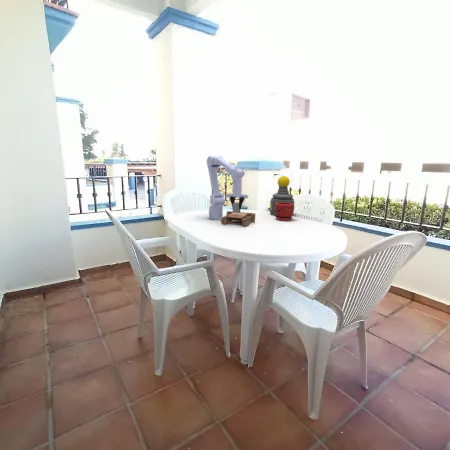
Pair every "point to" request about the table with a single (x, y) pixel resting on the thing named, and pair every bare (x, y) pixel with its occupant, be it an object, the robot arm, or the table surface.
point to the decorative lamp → (281, 195)
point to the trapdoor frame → (239, 219)
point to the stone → (236, 207)
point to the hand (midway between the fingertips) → (236, 208)
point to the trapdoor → (237, 215)
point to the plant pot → (284, 211)
